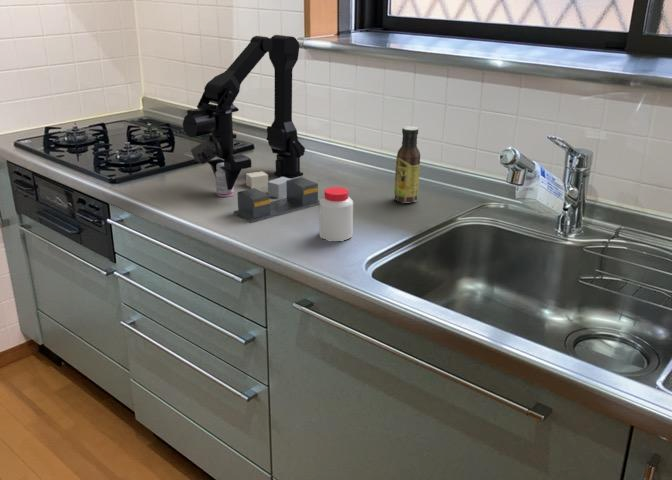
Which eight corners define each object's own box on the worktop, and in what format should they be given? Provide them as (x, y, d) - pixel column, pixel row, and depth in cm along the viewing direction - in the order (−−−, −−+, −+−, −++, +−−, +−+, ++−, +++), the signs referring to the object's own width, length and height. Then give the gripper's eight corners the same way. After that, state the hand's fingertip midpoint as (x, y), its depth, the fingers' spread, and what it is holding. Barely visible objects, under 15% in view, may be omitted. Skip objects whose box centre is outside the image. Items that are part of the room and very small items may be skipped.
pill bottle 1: (230, 197, 181) (229, 167, 177) (213, 196, 181) (212, 166, 178) (236, 192, 185) (235, 162, 182) (220, 190, 186) (218, 161, 182)
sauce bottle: (390, 198, 182) (393, 125, 174) (411, 195, 184) (415, 123, 176) (400, 206, 176) (403, 131, 168) (421, 203, 178) (426, 129, 170)
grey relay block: (282, 190, 187) (282, 176, 186) (293, 193, 185) (293, 179, 183) (267, 195, 183) (267, 181, 181) (278, 199, 181) (278, 184, 179)
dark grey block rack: (303, 195, 183) (303, 175, 181) (322, 203, 177) (322, 183, 175) (233, 213, 170) (232, 192, 168) (251, 222, 164) (250, 200, 162)
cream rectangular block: (262, 183, 193) (262, 171, 192) (268, 186, 190) (268, 175, 189) (246, 185, 191) (246, 173, 190) (251, 189, 188) (251, 177, 186)
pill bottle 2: (318, 229, 160) (318, 185, 156) (350, 228, 161) (351, 185, 157) (320, 242, 153) (320, 196, 149) (354, 241, 154) (355, 196, 150)
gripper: (177, 128, 178) (181, 184, 184) (213, 142, 165) (216, 202, 171) (213, 122, 185) (217, 176, 191) (251, 135, 172) (253, 193, 178)
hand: (225, 187), depth 182 cm, fingers closed on pill bottle 1, 5 cm apart
